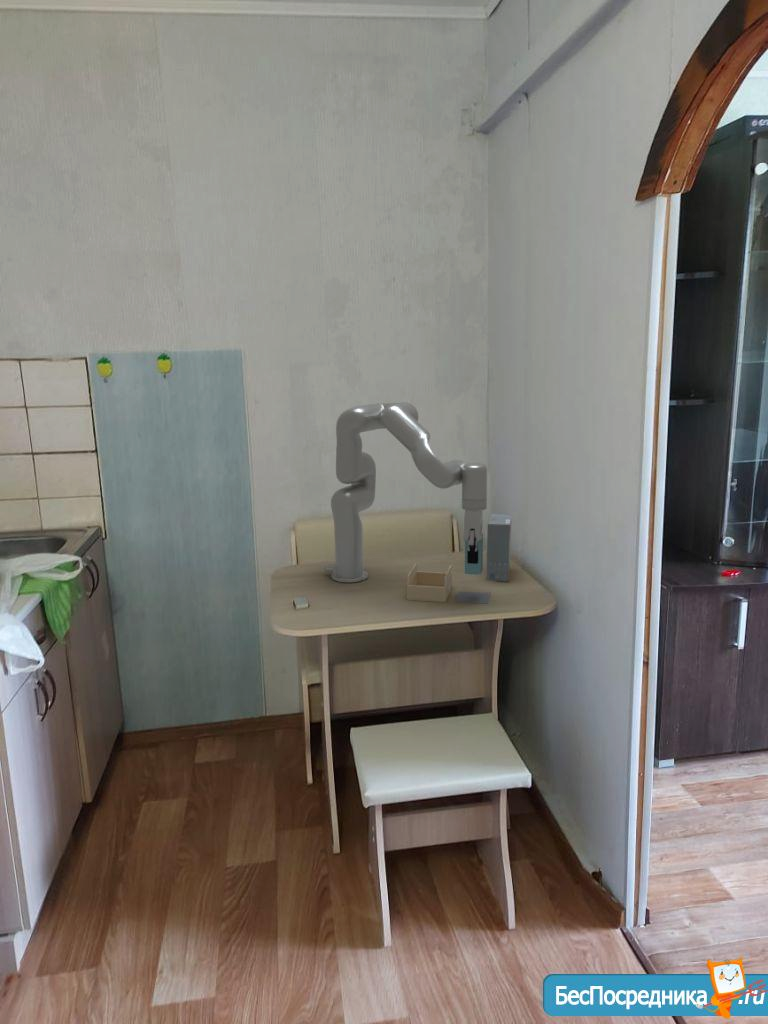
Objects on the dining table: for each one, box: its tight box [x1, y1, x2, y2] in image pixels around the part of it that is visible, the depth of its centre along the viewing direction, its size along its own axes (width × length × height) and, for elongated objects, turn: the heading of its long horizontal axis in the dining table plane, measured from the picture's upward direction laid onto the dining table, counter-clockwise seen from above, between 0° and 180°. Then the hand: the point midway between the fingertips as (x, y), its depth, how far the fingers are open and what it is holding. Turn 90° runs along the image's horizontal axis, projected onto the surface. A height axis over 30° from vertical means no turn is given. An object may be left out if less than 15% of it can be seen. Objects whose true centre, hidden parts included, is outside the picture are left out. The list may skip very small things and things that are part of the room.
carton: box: [406, 562, 453, 603], centre depth 242 cm, size 12×15×8 cm
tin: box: [464, 531, 484, 576], centre depth 234 cm, size 5×5×12 cm
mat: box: [454, 590, 491, 605], centre depth 238 cm, size 10×10×1 cm
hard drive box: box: [485, 513, 513, 582], centre depth 259 cm, size 16×8×20 cm, turn 168°
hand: (473, 560), depth 235 cm, fingers closed on tin, 5 cm apart
